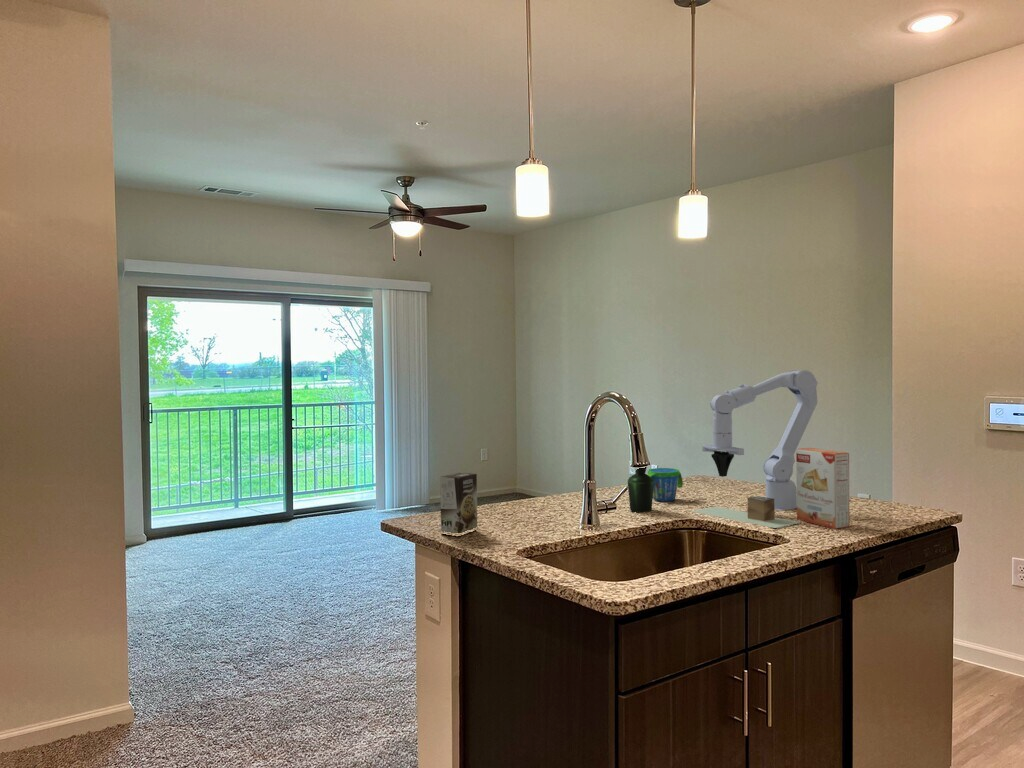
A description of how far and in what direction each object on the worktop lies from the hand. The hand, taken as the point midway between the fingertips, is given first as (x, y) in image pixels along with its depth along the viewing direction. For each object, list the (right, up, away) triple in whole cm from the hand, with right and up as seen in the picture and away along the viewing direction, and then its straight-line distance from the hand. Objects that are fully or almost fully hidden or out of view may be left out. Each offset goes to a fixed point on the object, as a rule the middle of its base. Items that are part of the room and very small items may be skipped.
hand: (722, 476), depth 228 cm
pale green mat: (+2, -11, -13) cm, 17 cm away
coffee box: (-81, -12, -28) cm, 86 cm away
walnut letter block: (+6, -4, -17) cm, 19 cm away
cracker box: (+22, -11, -23) cm, 33 cm away
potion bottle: (-26, -11, -1) cm, 28 cm away
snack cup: (-15, -11, +18) cm, 25 cm away
